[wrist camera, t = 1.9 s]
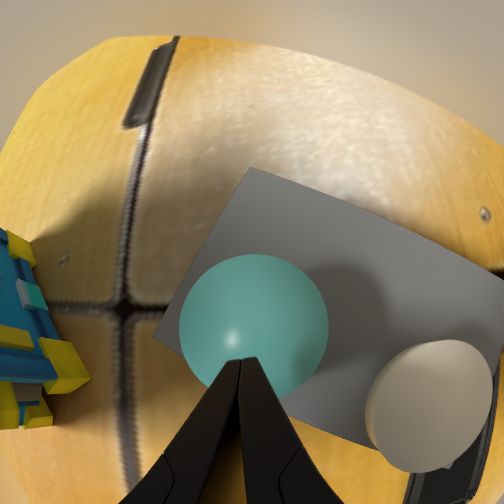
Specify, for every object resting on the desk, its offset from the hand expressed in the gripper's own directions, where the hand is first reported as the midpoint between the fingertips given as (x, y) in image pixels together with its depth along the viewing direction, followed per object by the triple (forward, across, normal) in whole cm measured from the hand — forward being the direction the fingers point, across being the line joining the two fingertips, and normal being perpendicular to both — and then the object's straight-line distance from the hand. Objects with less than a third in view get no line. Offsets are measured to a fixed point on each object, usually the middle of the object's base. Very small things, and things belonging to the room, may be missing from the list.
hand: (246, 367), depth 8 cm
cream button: (+2, -6, +7) cm, 10 cm away
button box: (+10, -5, +8) cm, 14 cm away
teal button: (+6, 0, +4) cm, 7 cm away
